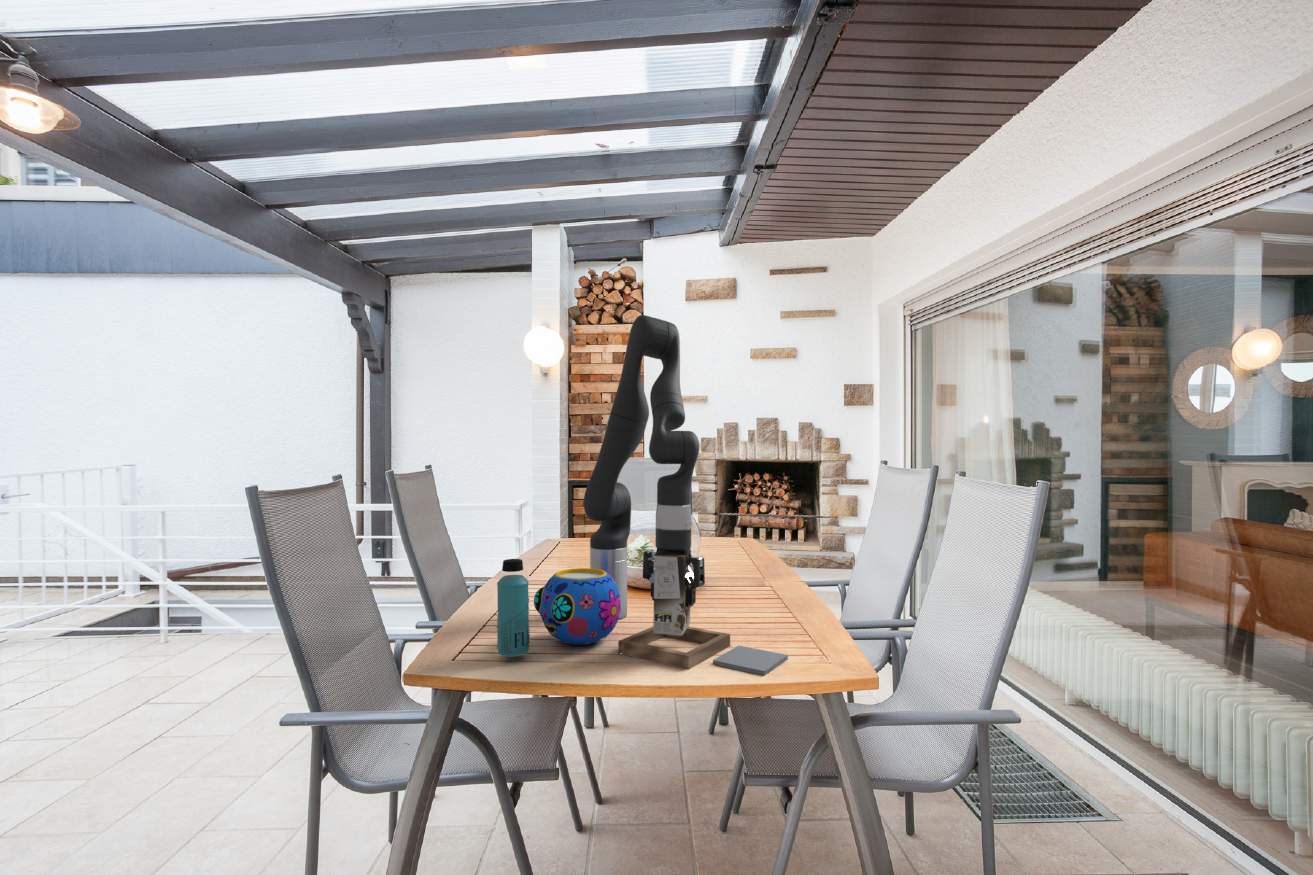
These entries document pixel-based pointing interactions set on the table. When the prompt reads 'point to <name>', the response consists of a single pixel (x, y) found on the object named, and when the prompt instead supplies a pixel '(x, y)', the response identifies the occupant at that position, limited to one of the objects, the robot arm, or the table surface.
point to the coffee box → (670, 594)
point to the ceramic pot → (579, 605)
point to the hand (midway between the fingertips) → (672, 603)
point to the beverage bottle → (513, 611)
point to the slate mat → (750, 660)
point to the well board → (641, 649)
